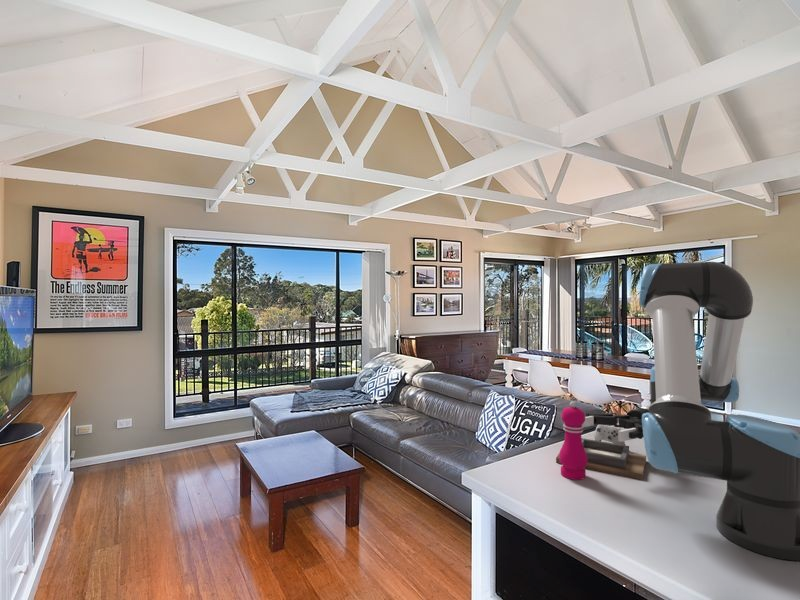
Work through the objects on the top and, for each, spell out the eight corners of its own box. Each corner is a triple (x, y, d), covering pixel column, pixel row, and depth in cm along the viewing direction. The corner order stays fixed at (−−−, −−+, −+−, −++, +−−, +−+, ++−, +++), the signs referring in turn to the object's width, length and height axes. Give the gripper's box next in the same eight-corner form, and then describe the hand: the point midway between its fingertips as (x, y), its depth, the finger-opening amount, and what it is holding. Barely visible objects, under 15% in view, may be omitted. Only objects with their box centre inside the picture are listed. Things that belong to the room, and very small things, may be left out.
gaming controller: (590, 443, 141) (590, 422, 142) (597, 441, 144) (597, 420, 144) (620, 452, 133) (620, 430, 133) (627, 450, 135) (627, 428, 135)
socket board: (642, 479, 112) (642, 464, 112) (556, 462, 124) (556, 448, 124) (646, 461, 126) (645, 447, 126) (567, 447, 138) (567, 434, 138)
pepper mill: (570, 482, 111) (570, 405, 111) (553, 471, 118) (553, 399, 118) (593, 479, 113) (593, 403, 113) (575, 468, 119) (575, 397, 120)
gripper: (688, 444, 118) (639, 457, 108) (608, 422, 140) (562, 430, 131) (688, 417, 118) (639, 427, 109) (608, 399, 140) (562, 406, 131)
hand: (597, 429), depth 120 cm, fingers open, 13 cm apart
